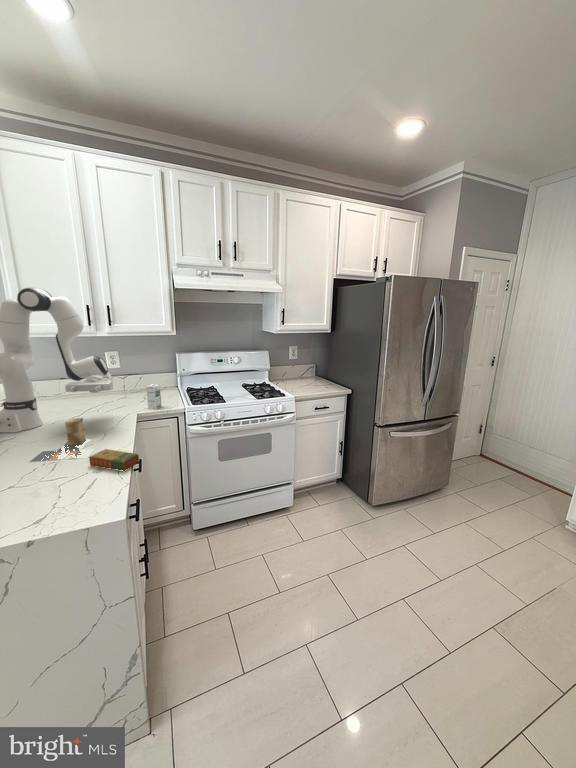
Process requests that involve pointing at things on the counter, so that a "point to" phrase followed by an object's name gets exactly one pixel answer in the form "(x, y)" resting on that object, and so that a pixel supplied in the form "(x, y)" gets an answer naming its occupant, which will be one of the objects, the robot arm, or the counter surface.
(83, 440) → the oak block
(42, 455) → the t mat
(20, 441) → the counter surface
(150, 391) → the syrup box
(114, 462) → the carton
